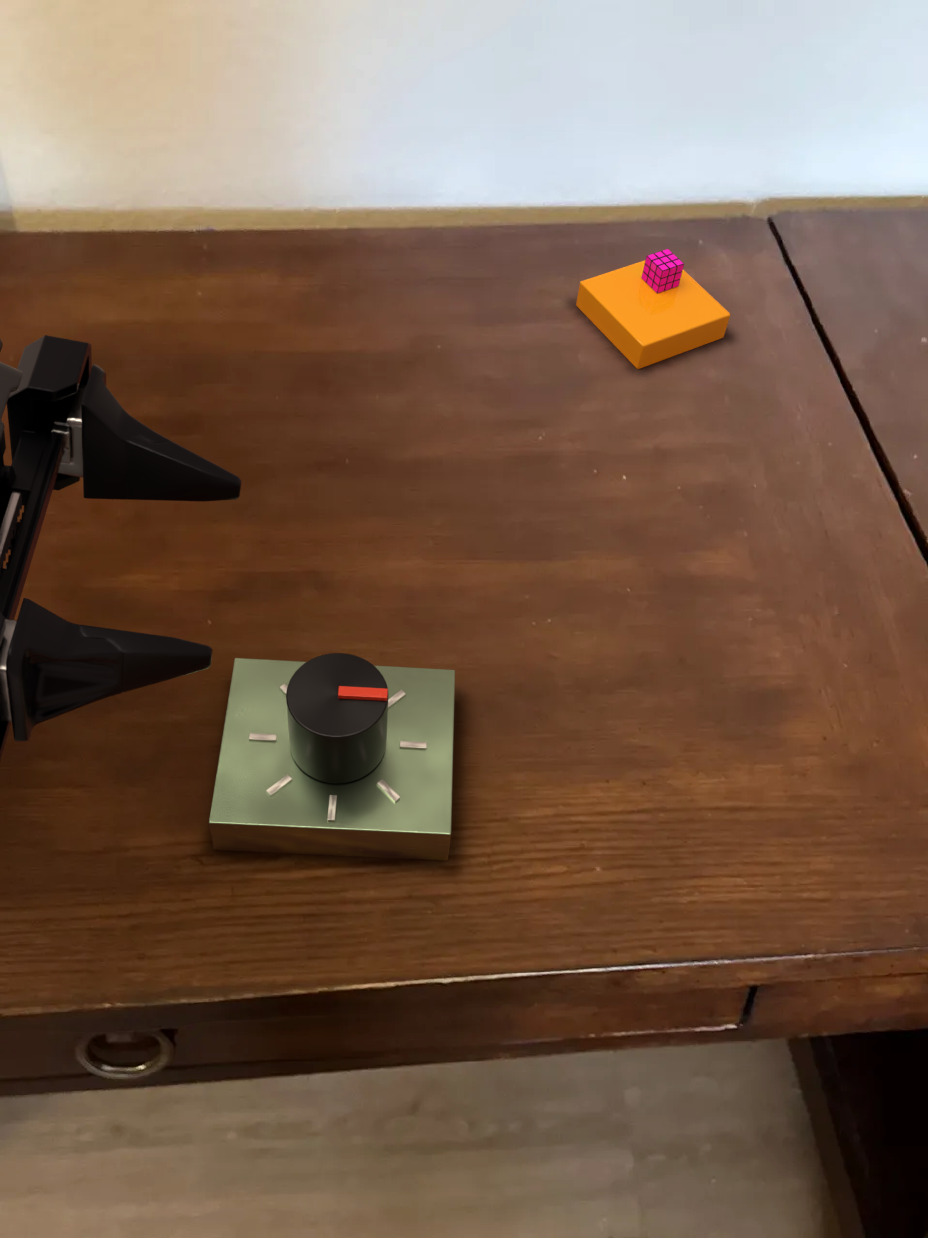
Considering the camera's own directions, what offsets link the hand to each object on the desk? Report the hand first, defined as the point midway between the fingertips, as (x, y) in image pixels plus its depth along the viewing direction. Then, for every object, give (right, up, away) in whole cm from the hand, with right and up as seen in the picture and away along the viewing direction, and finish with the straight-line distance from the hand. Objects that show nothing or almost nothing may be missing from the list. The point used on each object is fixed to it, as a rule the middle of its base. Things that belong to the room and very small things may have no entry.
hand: (226, 568), depth 51 cm
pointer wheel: (+3, -8, +12) cm, 15 cm away
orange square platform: (+24, +20, +39) cm, 50 cm away
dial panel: (+3, -10, +14) cm, 18 cm away
